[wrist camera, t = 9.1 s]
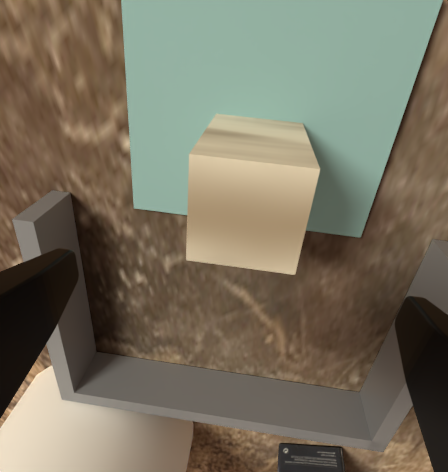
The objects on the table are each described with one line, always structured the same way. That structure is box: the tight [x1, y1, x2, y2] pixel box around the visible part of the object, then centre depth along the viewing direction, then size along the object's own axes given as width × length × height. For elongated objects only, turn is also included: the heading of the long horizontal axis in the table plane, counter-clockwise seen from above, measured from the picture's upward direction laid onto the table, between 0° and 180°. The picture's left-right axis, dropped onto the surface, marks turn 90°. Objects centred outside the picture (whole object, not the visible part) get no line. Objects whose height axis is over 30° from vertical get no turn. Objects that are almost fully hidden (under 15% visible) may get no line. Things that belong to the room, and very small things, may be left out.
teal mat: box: [121, 0, 443, 238], centre depth 18 cm, size 12×14×1 cm
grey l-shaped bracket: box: [12, 190, 448, 452], centre depth 24 cm, size 16×25×4 cm, turn 85°
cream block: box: [186, 114, 320, 275], centre depth 16 cm, size 4×4×7 cm
